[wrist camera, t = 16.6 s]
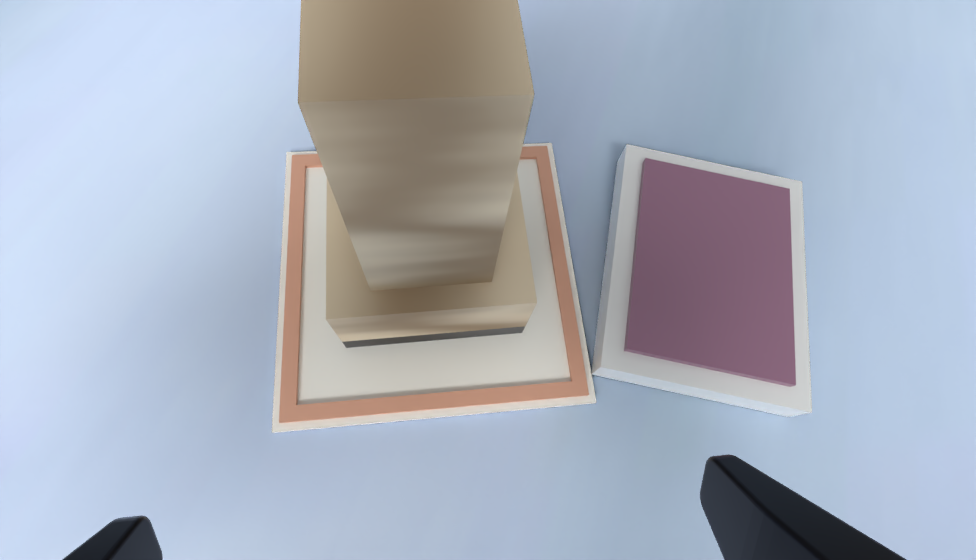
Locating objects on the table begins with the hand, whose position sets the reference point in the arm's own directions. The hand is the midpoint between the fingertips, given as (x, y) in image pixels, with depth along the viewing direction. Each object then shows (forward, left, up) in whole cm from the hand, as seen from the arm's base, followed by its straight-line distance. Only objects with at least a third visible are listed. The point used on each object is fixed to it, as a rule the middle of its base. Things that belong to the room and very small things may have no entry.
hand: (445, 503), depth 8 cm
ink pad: (+2, -12, -8) cm, 14 cm away
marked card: (+7, -3, -8) cm, 11 cm away
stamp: (+7, -3, -8) cm, 11 cm away
